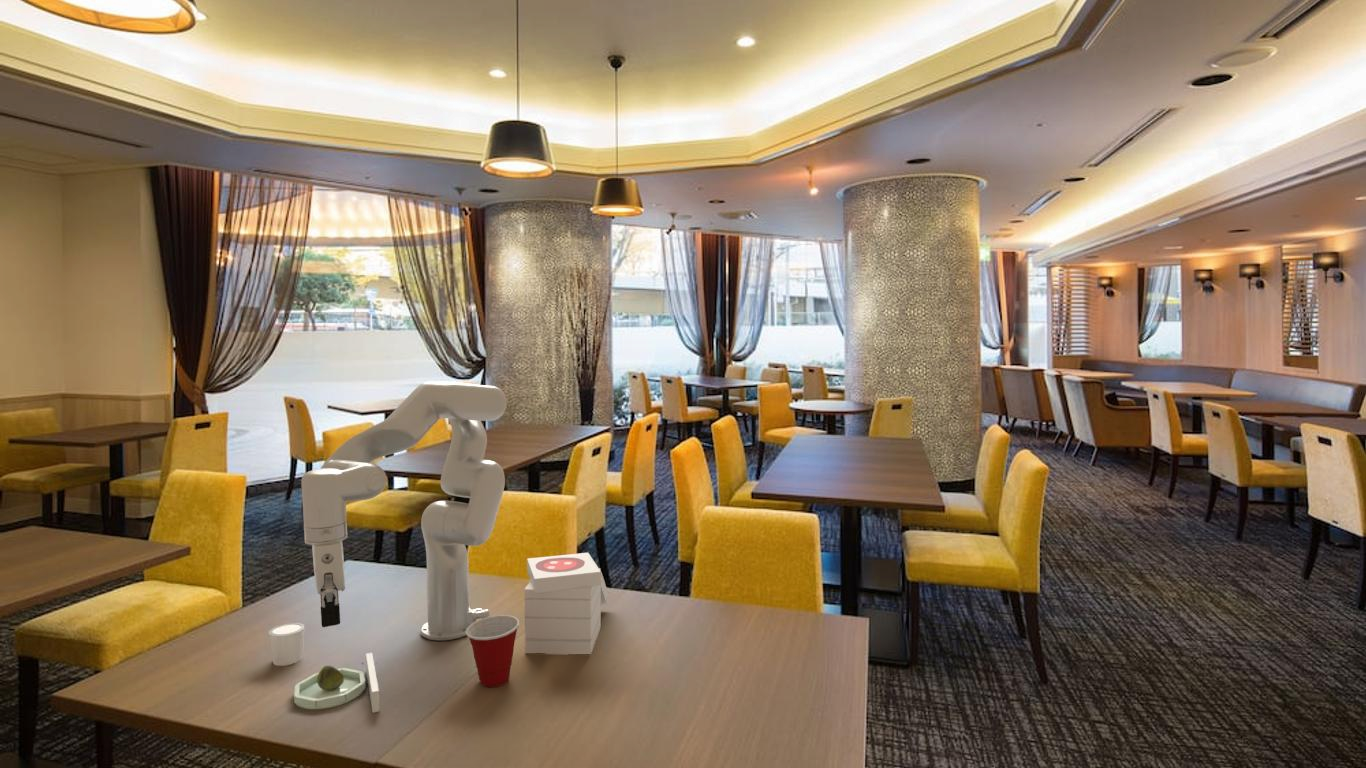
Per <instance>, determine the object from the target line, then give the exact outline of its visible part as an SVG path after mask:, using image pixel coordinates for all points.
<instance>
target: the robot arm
mask: <svg viewBox="0 0 1366 768" xmlns="http://www.w3.org/2000/svg"><path fill="white" fill-rule="evenodd" d="M507 404H508V401H507V397H506V394H505V392H504V391H503V390H502V389H501V388H499V387H497V386H495V385H485V384H484V385H483V384H473V383H467V382H459V381H445V380H444V381H443V380H442V381H441V380H439V381H438V380H431V381H430V380H429V381H425V382H423V383H421V384H419V385H418V386H417V387H416V388H415V389H414V390H413V391H412V392H411V393H410V394H409V395H408V396H407V397H406V398H405V399H404V400H403V401H402V402H401V403H400V404H399V405H398V406H397V407H396V408H395V409H394V410H393V411H392V412H391V413H390V415H389V416H387V418H385V419H384V420H383V421H380V422H379V423H377V424H375V425H372V426H371V427H369V428H367V429H365V430H363V431H362V432H359V433H357V434H356V435H354V436H352V437H350V438H349V439H347V440H346V441H345V442H343V443H342V444H341V445H340V446H339V447H338V448H337V449H336V450H335V451H333V452H332V453H331V454H330V456H328V458H327V459H326V460H325V461H324V463H323V464H322V465H321V466H320V468H317V469H313V470H309V471H307V472H305V473H304V474H303V475H302V476H301V497H302V498H301V499H302V513H303V516H302V517H303V532H304V544H306V545H308V546H312V547H311V548H312V550H311V551H312V561H313V562H312V563H313V564H312V565H313V573H314V581H315V588H316V591H317V594H318V595H319V596H320V618H321V627H322V628H327V627H333V626H338V625H340V624H341V613H340V612H341V611H340V603H339V602H340V601H339V591H341V592H344V591H345V590H346V582H345V581H346V580H345V579H346V578H345V562H344V561H345V560H344V559H345V558H344V557H345V556H344V547H343V541H344V540H346V539H348V522H347V517H348V516H347V503H350V502H351V503H352V502H358V501H365V500H366V501H367V500H371V499H374V498H375V497H377V496H379V495H380V494H381V493H382V492H383V491H384V489H385V488H386V486H387V480H388V479H387V474H386V472H385V470H384V469H383V467H381V466H379V465H377V464H374V463H372V462H373V461H375V460H377V459H379V458H383V457H385V456H389V455H393V454H396V453H400V452H403V451H406V450H409V449H412V448H413V447H415V446H416V445H417V444H419V442H420V441H421V440H422V439H423V438H424V437H425V436H426V435H427V434H428V432H429V431H430V430H431V429H432V427H434V425H435V424H436V423H438V421H439V420H441V419H447V420H448V422H449V424H450V427H451V433H452V436H451V442H450V445H449V449H448V452H447V456H446V459H445V462H444V464H443V468H442V472H441V475H440V482H439V483H440V487H441V490H442V491H443V492H444V493H445V494H447V495H450V496H454V497H461V498H466V499H467V498H469V501H468V503H467V502H462V501H454V500H438V501H437V500H436V501H434V502H432V503H430V504H429V505H428V506H426V508H425V509H424V510H423V512H422V514H421V515H422V516H421V521H420V524H421V525H420V526H421V532H422V536H423V539H424V547H425V553H426V556H425V557H426V588H427V589H426V590H427V591H426V596H427V599H426V600H427V621H426V622H425V623H424V624H422V626H421V629H420V632H421V633H420V634H421V636H422V637H424V638H425V639H428V640H431V641H450V640H457V639H460V638H463V637H465V636H467V635H466V633H465V632H466V628H467V627H468V626H469V625H471V624H472V623H474V622H476V621H477V620H480V619H483V618H486V617H490V611H489V609H482V607H479V608H475V609H472V608H471V607H470V593H469V592H470V590H469V589H470V588H469V586H470V585H469V583H470V581H469V579H470V578H469V555H468V554H469V553H468V550H467V547H466V546H469V547H470V546H473V547H478V546H481V545H483V544H485V543H486V541H488V540H489V538H490V537H491V535H492V533H493V530H494V527H495V524H496V519H497V516H498V514H499V513H498V512H499V509H500V506H501V501H502V498H503V494H504V489H505V485H506V484H505V483H506V479H505V478H506V477H505V472H504V469H503V467H502V466H501V465H500V464H499V463H498V462H496V461H495V460H494V461H493V460H491V459H485V455H486V454H485V453H486V450H487V444H488V436H487V431H486V430H485V426H484V425H483V421H484V422H493V421H497V420H498V419H500V418H501V417H502V416H503V415H504V413H505V412H506V410H507V409H506V408H507Z"/></svg>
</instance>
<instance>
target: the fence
mask: <svg viewBox="0 0 1366 768" xmlns="http://www.w3.org/2000/svg"><path fill="white" fill-rule="evenodd" d="M365 669H366V670H365V672H366V673H365V674H366V679H367V680H366V681H367V685H368V691H369V698H370V705H371V711H372V714H373V713H377V712H380V690H379V683H378V677H377V673H376V668H375V661H374V656H373V652H368V653H365Z"/></svg>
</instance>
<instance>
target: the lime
mask: <svg viewBox="0 0 1366 768" xmlns="http://www.w3.org/2000/svg"><path fill="white" fill-rule="evenodd" d="M337 669H338V668H335V667H334V666H332V665H324V666H323V667H322V668H321V670H319V672H318V673H319V674H318V676H317V683H318V685H319V687H320V688H321V689H323V690H334V689H336V688H338V687H340V686H341V685H342V683H343V682H344V677H343V675H342V674H341V673H340V671H339V670H337Z"/></svg>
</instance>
